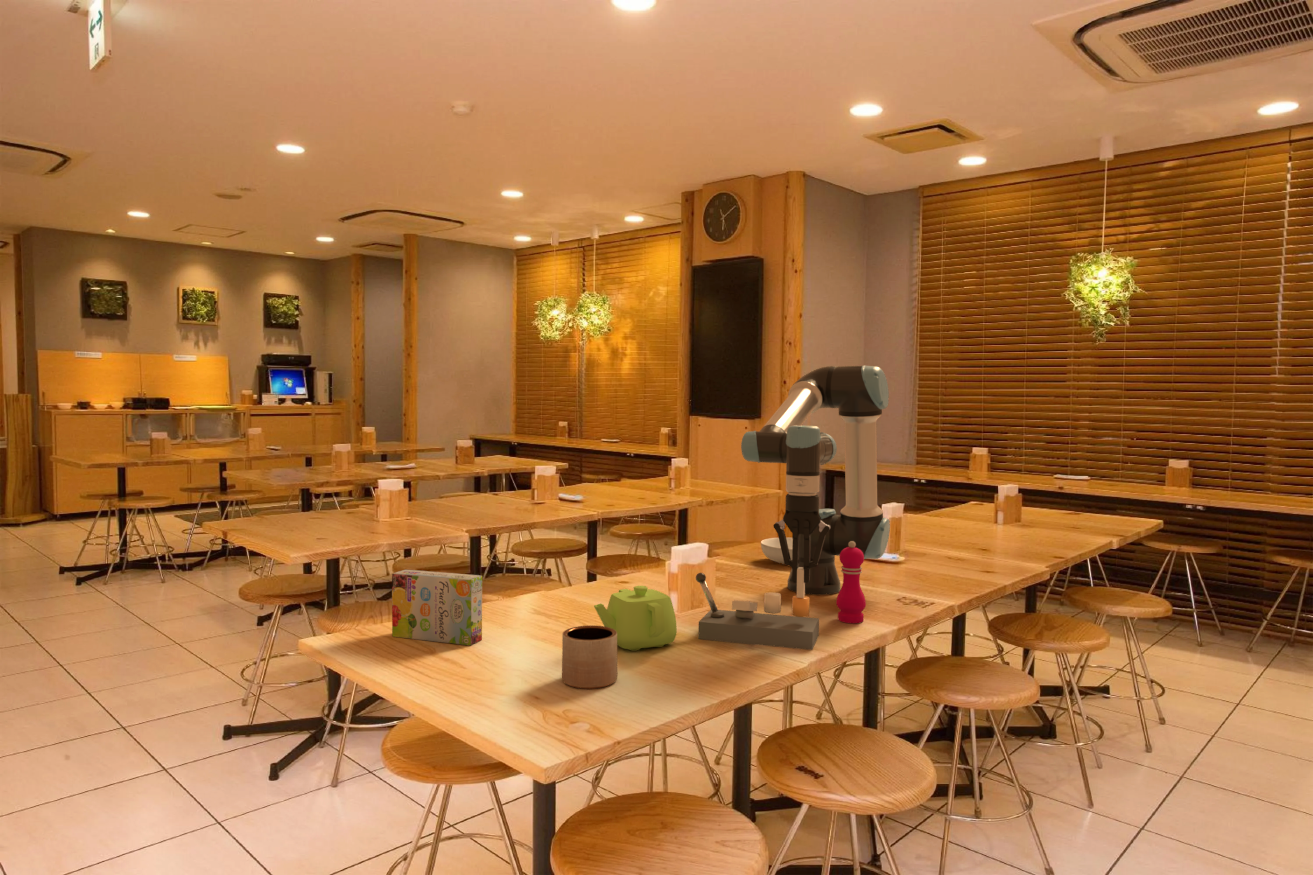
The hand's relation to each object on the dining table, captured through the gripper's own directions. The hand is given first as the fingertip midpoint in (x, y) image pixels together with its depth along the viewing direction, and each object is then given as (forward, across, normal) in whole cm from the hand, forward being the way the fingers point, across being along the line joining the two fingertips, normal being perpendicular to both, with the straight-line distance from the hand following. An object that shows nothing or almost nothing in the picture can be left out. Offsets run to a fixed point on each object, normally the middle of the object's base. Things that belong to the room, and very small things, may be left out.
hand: (800, 596), depth 189 cm
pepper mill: (+10, +10, +22) cm, 26 cm away
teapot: (+11, -36, -15) cm, 40 cm away
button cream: (+4, -7, 0) cm, 8 cm away
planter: (+11, -36, -40) cm, 54 cm away
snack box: (+11, -80, -25) cm, 84 cm away
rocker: (+4, -13, 0) cm, 14 cm away
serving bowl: (+10, -16, +90) cm, 92 cm away
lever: (+5, -20, 0) cm, 21 cm away
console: (+10, -10, 0) cm, 14 cm away
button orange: (+4, 0, 0) cm, 4 cm away
